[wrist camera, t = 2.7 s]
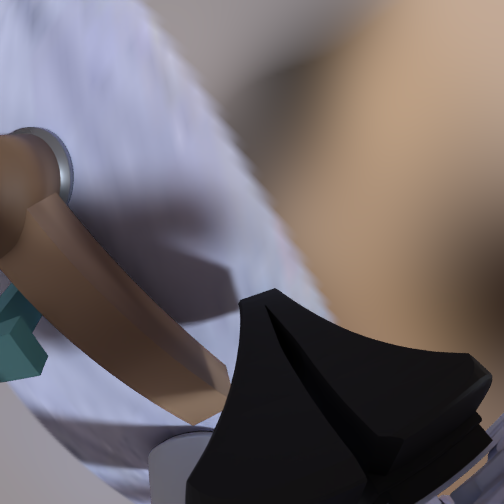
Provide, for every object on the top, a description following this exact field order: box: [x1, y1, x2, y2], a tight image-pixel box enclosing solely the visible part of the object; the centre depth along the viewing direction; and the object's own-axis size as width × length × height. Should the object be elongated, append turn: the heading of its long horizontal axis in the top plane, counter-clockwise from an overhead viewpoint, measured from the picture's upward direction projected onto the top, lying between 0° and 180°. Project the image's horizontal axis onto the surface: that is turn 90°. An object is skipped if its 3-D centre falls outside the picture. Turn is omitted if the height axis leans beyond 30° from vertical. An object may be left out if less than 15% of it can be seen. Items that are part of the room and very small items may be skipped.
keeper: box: [0, 283, 48, 382], centre depth 7 cm, size 1×3×4 cm, turn 104°
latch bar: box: [0, 134, 231, 426], centre depth 7 cm, size 12×3×3 cm, turn 34°
